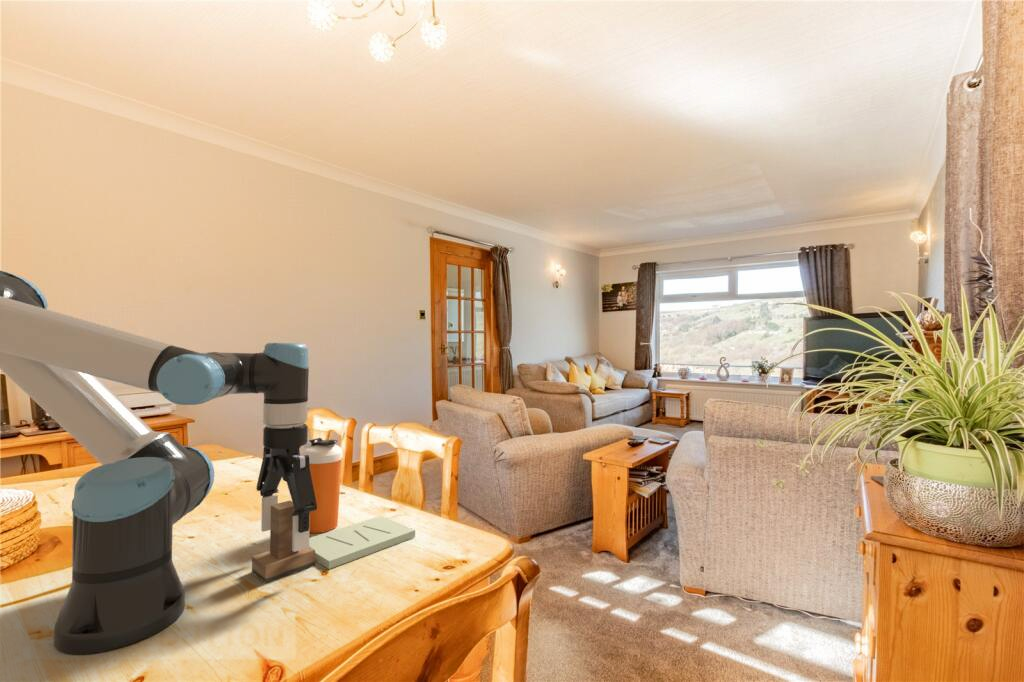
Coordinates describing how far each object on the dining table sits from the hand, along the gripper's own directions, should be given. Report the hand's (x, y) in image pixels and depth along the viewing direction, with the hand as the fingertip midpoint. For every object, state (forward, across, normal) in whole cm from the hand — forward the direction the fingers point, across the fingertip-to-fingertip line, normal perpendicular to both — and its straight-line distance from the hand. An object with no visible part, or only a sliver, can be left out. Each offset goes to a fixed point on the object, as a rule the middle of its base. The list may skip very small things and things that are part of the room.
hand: (284, 538), depth 89 cm
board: (+6, 0, -16) cm, 16 cm away
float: (+6, 0, 0) cm, 6 cm away
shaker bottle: (+6, +14, -14) cm, 21 cm away
